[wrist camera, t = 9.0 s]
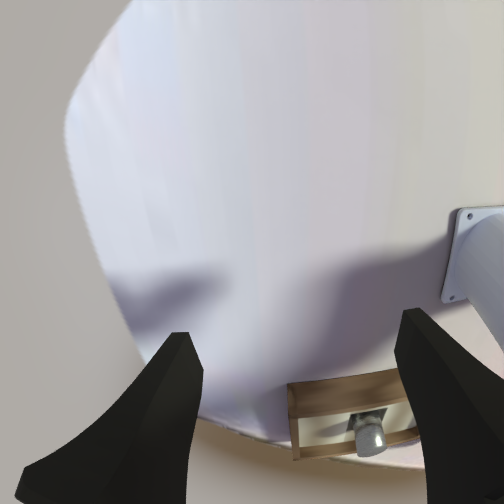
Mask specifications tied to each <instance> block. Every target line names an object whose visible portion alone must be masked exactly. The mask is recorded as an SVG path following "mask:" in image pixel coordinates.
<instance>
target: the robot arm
mask: <svg viewBox="0 0 504 504" xmlns="http://www.w3.org/2000/svg"><path fill="white" fill-rule="evenodd" d="M469 213H470V215H469V217H467V216H468V214H469ZM464 299H468V300H469V301H470V302H471V304H472V305H473V307H474V308H475V310H476V311H477V312H478V314H479V315H480V317H481V318H482V320H483V321H484V323H485V324H486V326H487V327H488V329H489V330H490V332H491V333H492V335H493V336H494V338H495V340H496V341H497V343H498V344H499V346H500V348H501V349H502V351H503V352H504V206H491V207H474V208H462V209H460V210H459V212H458V214H457V219H456V226H455V232H454V238H453V244H452V250H451V255H450V260H449V265H448V269H447V274H446V278H445V282H444V287H443V291H442V295H441V301H442V302H443V303H450V302H455V301H460V300H464ZM394 354H395V358H396V363H397V367H398V371H399V375H400V378H401V381H402V384H403V387H404V389H405V392H406V395H407V398H408V401H409V404H410V406H411V409H412V412H413V415H414V418H415V421H416V424H417V427H418V431H419V435H420V439H421V445H422V450H423V456H424V464H425V472H426V483H427V504H504V379H502V378H501V377H500V376H498V375H497V374H495V373H494V372H492V371H491V370H490V369H488V368H487V367H486V366H485V365H483V364H482V363H481V362H480V361H479V360H477V359H476V358H475V357H474V356H472V355H471V354H470V353H469V352H468V351H467V350H465V349H464V348H463V347H462V346H461V345H460V344H459V343H458V342H456V341H455V340H454V339H453V338H452V337H451V336H450V335H449V334H448V333H447V332H446V331H444V330H443V329H442V328H441V327H440V326H439V325H438V324H437V323H436V322H435V321H434V320H433V319H431V318H430V317H429V316H428V315H427V314H426V313H425V312H424V311H423V310H421V309H420V308H414V309H408V310H403V315H402V319H401V324H400V328H399V333H398V337H397V341H396V345H395V349H394ZM203 371H204V370H203V367H202V365H201V363H200V360H199V358H198V355H197V353H196V350H195V347H194V345H193V342H192V340H191V337H190V335H189V332H172V333H171V334H170V336H169V337H168V338H167V339H166V341H165V342H164V343H163V344H162V346H161V347H160V348H159V350H158V351H157V352H156V354H155V355H154V356H153V358H152V359H151V360H150V361H149V363H148V364H147V365H146V367H145V368H144V369H143V370H142V372H141V373H140V374H139V375H138V377H137V378H136V379H135V380H134V381H133V383H132V384H131V385H130V386H129V387H128V388H127V389H126V391H125V392H124V393H123V394H122V395H121V396H120V398H119V399H118V400H117V401H116V402H115V403H114V404H113V405H112V406H111V407H110V408H109V409H108V410H107V411H106V412H105V413H104V414H103V415H102V416H101V417H100V418H99V419H97V420H96V421H95V422H94V423H93V424H92V425H90V426H89V427H88V428H87V429H85V430H84V431H83V432H82V433H80V434H79V435H78V436H77V437H76V438H74V439H73V440H71V441H70V442H68V443H67V444H66V445H64V446H63V447H61V448H59V449H58V450H56V451H55V452H54V453H51V454H50V455H48V456H46V457H45V458H43V459H40V460H38V461H37V462H35V463H33V464H31V465H29V466H26V467H25V468H24V470H23V473H22V476H21V478H20V481H19V484H18V487H17V490H16V493H15V497H16V499H17V500H19V501H20V502H22V503H24V504H186V485H187V471H188V459H189V453H190V447H191V442H192V438H193V433H194V428H195V423H196V419H197V415H198V410H199V405H200V400H201V395H202V384H203Z"/></svg>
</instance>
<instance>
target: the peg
mask: <svg viewBox="0 0 504 504" xmlns="http://www.w3.org/2000/svg"><path fill="white" fill-rule="evenodd" d="M351 418H352V424H353V430H354V436H355V442H356V448H357V455H358V456H359V457H370V456H374V455H377V454H379V453H381V452H383V451H385V450H386V449H387V445H386V440H385V436H384V431H383V427H382V422H381V418H380V414H379V410H378V409H377V410H372V411H367V412H361V413H355V414H351Z"/></svg>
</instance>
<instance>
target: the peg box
mask: <svg viewBox="0 0 504 504" xmlns="http://www.w3.org/2000/svg"><path fill="white" fill-rule="evenodd" d="M287 393H288V416H289V425H290V435H291V444H292V453H293V460H295V461H296V460H307V459H317V458H326V457H333V456H340V455H347V454H353V453H357V448H356V442H355V436H354V430H353V424H352V418H351V415H350V414H355V413H361V412H367V411H372V410H377V409H378V410H379V414H380V418H381V422H382V427H383V431H384V436H385V440H386V445H387V447H388V446H392V445H396V444H400V443H404V442H408V441H412V440H415V439H419V438H420V435H419V431H418V427H417V424H416V421H415V418H414V415H413V412H412V409H411V406H410V404H409V401H408V398H407V395H406V392H405V389H404V387H403V384H402V381H401V378H400V375H399V371H398V368H395V369H390V370H385V371H380V372H374V373H368V374H363V375H356V376H350V377H343V378H336V379H328V380H320V381H311V382H301V383H291V384H287Z"/></svg>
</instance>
